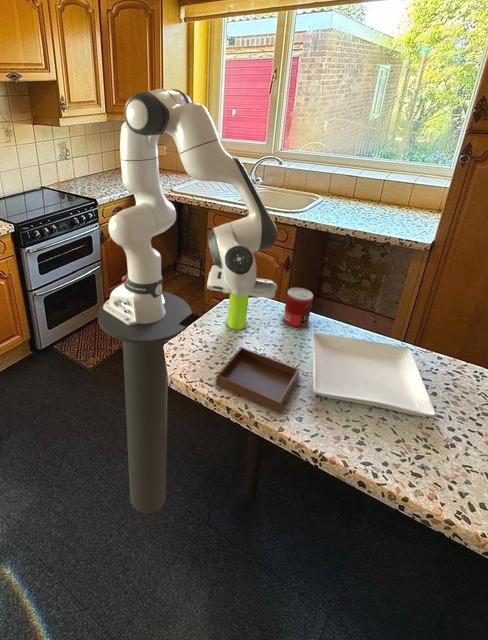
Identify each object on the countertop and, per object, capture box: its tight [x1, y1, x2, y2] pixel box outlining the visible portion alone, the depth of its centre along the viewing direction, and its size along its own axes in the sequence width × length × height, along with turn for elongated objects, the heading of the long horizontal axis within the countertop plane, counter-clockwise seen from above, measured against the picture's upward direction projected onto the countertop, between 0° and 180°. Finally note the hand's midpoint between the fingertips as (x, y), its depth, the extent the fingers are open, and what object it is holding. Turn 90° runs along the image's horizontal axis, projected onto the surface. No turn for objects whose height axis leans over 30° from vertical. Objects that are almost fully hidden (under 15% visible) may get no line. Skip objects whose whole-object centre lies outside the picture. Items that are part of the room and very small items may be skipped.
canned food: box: [283, 287, 314, 329], centre depth 131 cm, size 8×8×11 cm
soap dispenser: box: [226, 293, 250, 330], centre depth 127 cm, size 6×7×20 cm
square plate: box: [310, 331, 437, 418], centre depth 108 cm, size 27×27×4 cm
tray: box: [215, 346, 301, 414], centre depth 107 cm, size 17×15×3 cm
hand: (241, 293), depth 125 cm, fingers open, 8 cm apart
